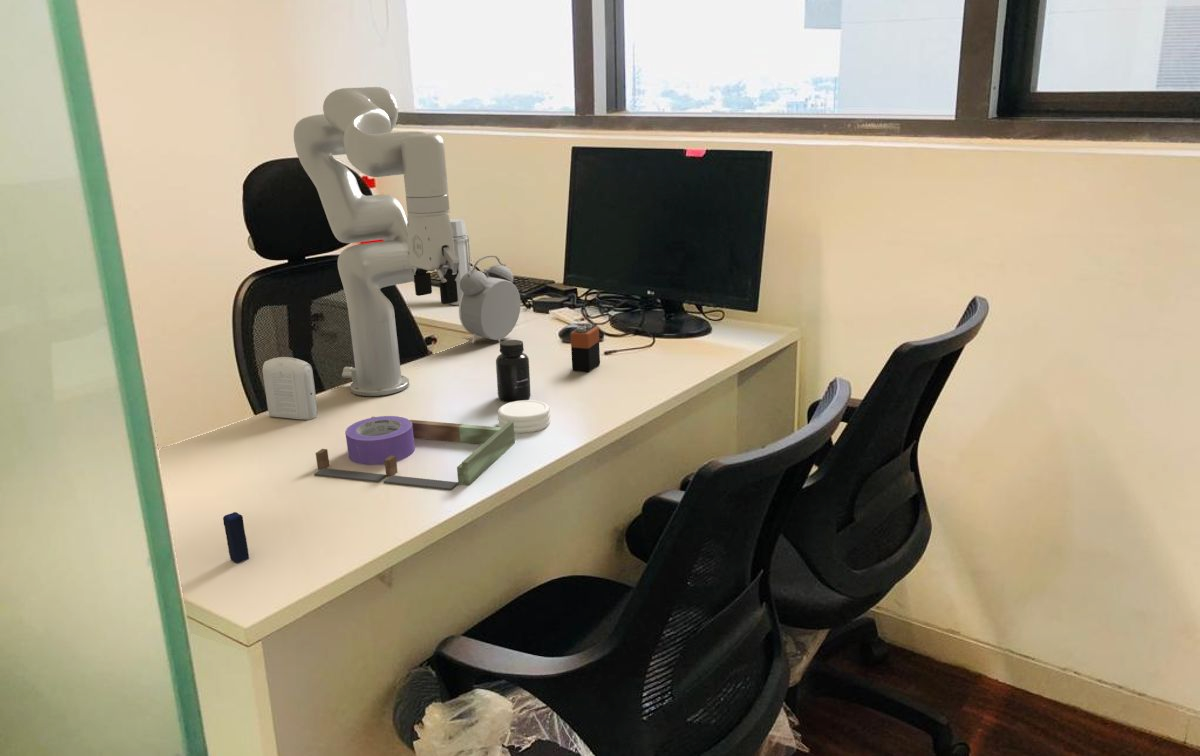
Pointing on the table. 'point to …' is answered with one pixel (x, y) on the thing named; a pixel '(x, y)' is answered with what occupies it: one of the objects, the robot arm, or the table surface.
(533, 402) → the coaster
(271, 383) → the photo printer
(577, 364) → the battery
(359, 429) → the tape roll
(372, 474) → the mats
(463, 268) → the water bottle
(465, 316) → the alarm clock
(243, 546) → the eraser
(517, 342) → the supplement bottle
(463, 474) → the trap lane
